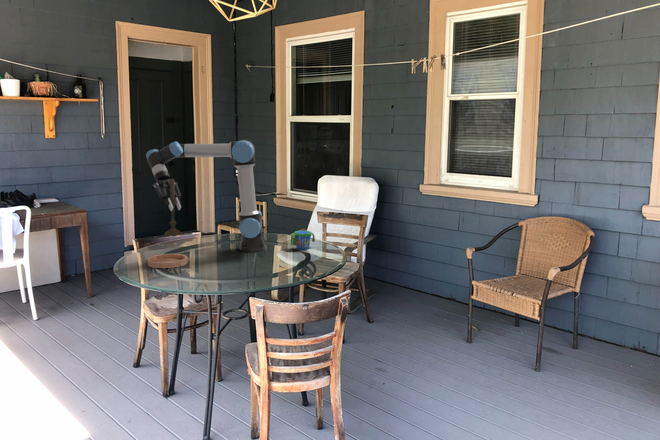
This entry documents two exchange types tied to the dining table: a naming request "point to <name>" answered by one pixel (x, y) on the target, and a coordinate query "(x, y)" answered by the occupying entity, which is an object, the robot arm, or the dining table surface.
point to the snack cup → (302, 239)
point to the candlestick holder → (172, 213)
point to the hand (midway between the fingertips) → (175, 208)
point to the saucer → (167, 261)
